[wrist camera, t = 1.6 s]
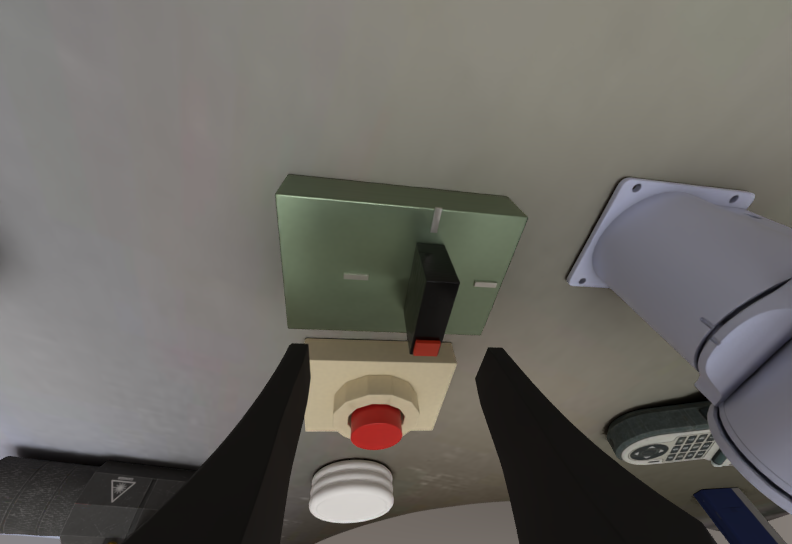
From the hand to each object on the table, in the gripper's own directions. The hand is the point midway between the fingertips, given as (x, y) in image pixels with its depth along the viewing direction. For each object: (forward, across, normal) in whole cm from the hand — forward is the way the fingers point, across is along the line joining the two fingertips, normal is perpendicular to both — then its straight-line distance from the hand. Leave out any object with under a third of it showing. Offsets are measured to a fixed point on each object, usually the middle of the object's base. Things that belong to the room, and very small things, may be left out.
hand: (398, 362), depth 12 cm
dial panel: (+9, 0, 0) cm, 9 cm away
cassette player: (+10, -62, +45) cm, 77 cm away
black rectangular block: (+6, -2, 0) cm, 7 cm away
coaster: (+10, +1, +34) cm, 35 cm away
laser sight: (+10, +24, +30) cm, 40 cm away
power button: (+6, 0, +14) cm, 15 cm away
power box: (+9, 0, +14) cm, 17 cm away
